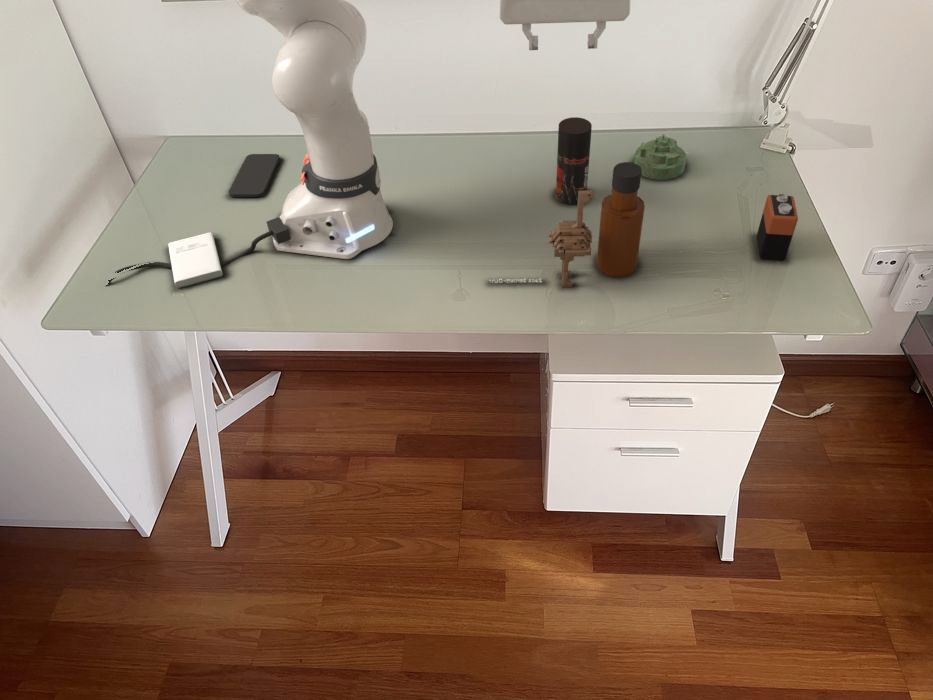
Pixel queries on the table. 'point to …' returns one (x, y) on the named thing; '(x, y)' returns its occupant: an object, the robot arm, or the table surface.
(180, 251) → the white power adapter
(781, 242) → the battery
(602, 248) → the bottle
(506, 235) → the table surface
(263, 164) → the phone
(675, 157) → the decorative artifact
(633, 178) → the bung
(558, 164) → the deodorant
